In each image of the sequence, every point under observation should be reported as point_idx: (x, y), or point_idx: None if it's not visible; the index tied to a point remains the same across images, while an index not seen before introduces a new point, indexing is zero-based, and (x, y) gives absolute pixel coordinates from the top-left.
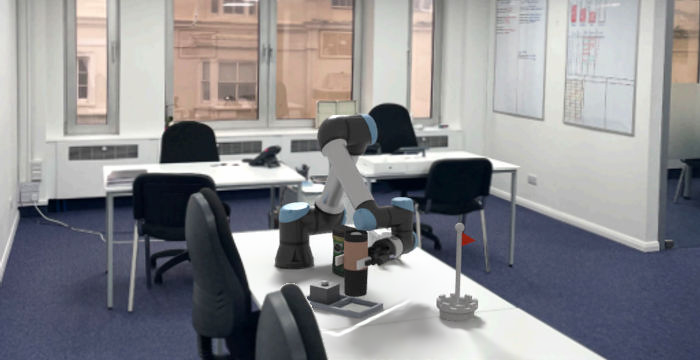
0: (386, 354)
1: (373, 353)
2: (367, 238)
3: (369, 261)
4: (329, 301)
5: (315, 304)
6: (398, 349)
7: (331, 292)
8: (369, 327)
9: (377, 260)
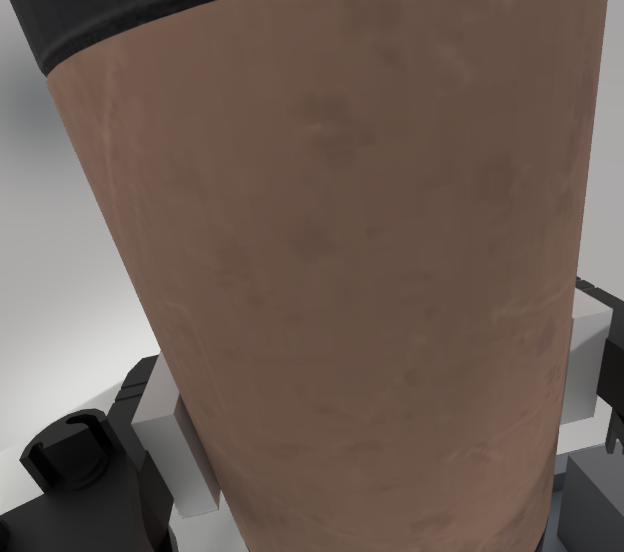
0: (59, 417)
1: (98, 398)
2: (20, 19)
3: (125, 386)
4: (580, 547)
5: (560, 459)
6: (21, 464)
7: (609, 535)
8: (192, 537)
9: (7, 521)
